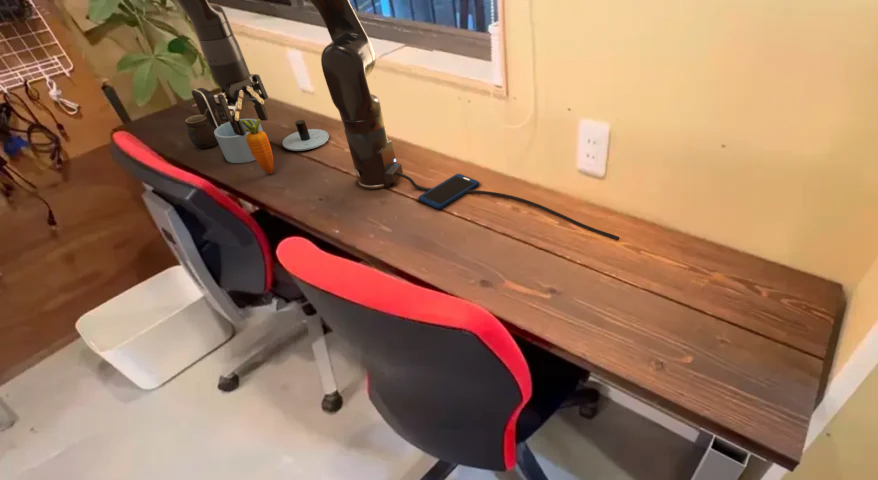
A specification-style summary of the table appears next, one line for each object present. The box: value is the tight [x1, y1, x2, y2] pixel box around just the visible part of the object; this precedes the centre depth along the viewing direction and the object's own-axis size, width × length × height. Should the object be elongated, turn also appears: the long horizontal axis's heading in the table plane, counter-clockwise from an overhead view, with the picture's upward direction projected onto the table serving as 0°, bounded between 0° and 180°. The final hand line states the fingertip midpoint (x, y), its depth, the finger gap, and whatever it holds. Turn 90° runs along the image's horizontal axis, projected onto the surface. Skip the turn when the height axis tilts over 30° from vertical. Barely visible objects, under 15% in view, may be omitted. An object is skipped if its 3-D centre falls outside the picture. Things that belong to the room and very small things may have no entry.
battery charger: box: [191, 87, 223, 130], centre depth 153 cm, size 7×4×11 cm, turn 50°
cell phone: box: [418, 173, 480, 210], centre depth 122 cm, size 7×14×1 cm, turn 140°
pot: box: [214, 118, 265, 164], centre depth 140 cm, size 12×12×7 cm
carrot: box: [242, 118, 274, 175], centre depth 128 cm, size 5×5×15 cm
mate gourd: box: [184, 108, 218, 150], centre depth 145 cm, size 7×8×10 cm
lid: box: [282, 119, 330, 152], centre depth 144 cm, size 13×13×6 cm
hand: (253, 127), depth 125 cm, fingers open, 8 cm apart
